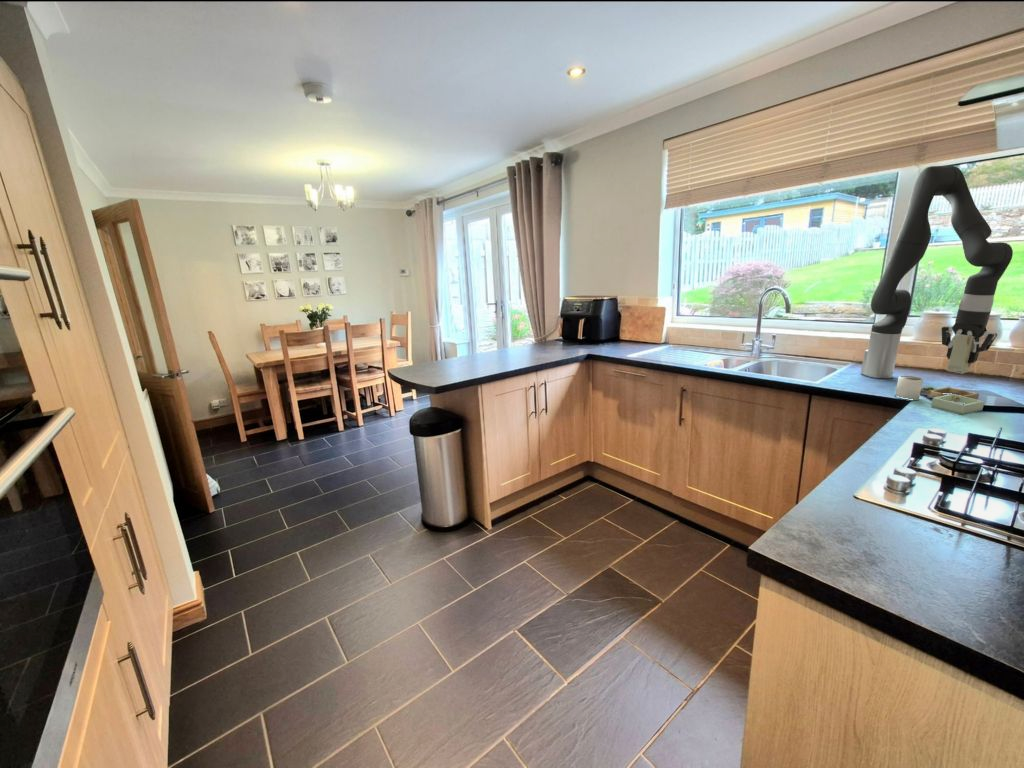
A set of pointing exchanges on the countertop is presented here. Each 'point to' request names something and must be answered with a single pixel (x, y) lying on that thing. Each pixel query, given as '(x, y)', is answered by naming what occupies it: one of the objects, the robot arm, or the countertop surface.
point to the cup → (909, 387)
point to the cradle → (939, 392)
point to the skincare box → (960, 354)
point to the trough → (961, 409)
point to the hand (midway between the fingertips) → (960, 360)
